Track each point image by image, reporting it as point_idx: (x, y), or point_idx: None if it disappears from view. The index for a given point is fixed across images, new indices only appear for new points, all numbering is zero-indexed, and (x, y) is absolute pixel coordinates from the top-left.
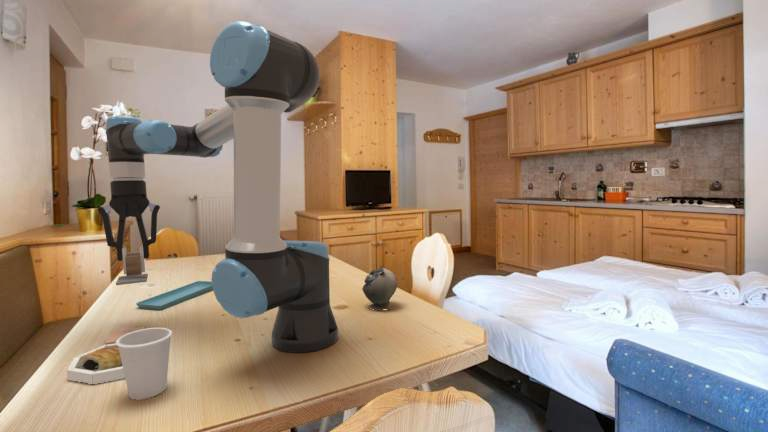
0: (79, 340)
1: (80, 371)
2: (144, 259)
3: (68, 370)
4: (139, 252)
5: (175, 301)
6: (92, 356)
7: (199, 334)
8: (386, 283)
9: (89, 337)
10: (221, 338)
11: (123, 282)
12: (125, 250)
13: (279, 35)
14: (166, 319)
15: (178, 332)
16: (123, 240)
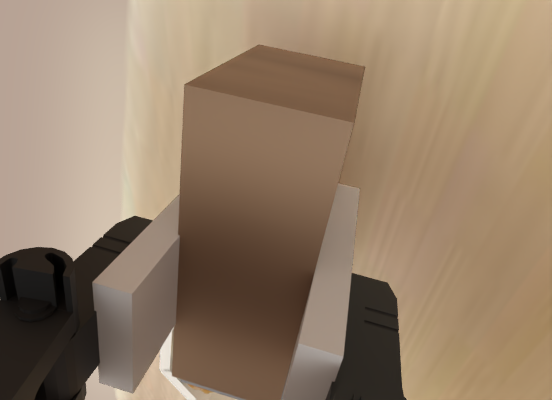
0: (153, 123)
1: (181, 390)
2: (354, 241)
3: (161, 372)
4: (313, 203)
5: None
6: (192, 387)
7: (459, 326)
8: None
9: (177, 114)
10: (488, 389)
11: (210, 390)
12: (143, 370)
13: None
14: (442, 91)
15: (418, 269)
16: (31, 379)
